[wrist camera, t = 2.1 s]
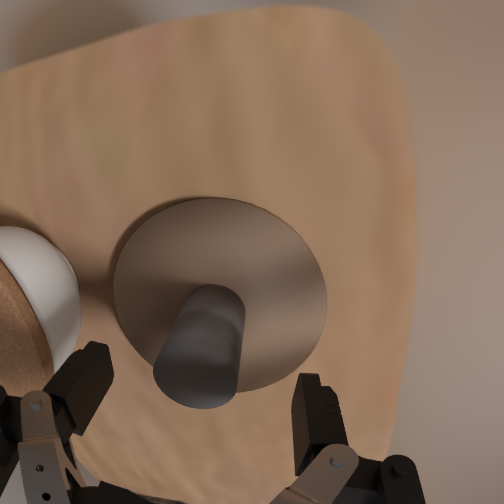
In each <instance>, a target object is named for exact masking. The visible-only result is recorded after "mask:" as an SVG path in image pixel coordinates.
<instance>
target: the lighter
mask: <svg viewBox="0 0 504 504" xmlns="http://www.w3.org/2000/svg"><path fill="white" fill-rule="evenodd" d="M140 497H142V498H144V499H146V500H148V501H150V502H152V503H155V504H187V503H184V502H180V501H174V500H168V499H162V498H154V497H144V496H140Z"/></svg>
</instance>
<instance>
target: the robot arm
mask: <svg viewBox="0 0 504 504" xmlns="http://www.w3.org/2000/svg"><path fill="white" fill-rule="evenodd" d="M113 378H114V371H113V366H112V361H111V357H110V352H109V347H108V345H106V344H103V343H99V342H95V341H90V342H89V343H88V344H87V345H86V346H85V348H84V349H83V350H81V349H79V350H77V351H76V352H74V353H72V354H71V355H70V356H69V357H68V358H67V359H66V360H65V362H64V364H62V365H61V367H60V368H59V369H58V370H57V372H56V373H55V374H54V375H53V377H52V378H51V379H50V380H49V382H48V383H47V384H46V385H45V387H44V388H43V389H42V390H34V391H30V392H28V393H26V394H25V395H24V396H23V397H17V396H10V395H8V394H7V392H6V390H5V388H4V387H3V386H1V385H0V497H1V495H2V493H3V491H4V488H5V487H6V484H7V482H8V480H9V478H10V476H11V474H12V472H13V471H14V469H15V467H16V465H17V463H18V461H20V468H21V474H22V480H23V486H24V491H25V496H26V500H27V504H155V503H152V502H150V501H148V500H146V499H144V498H142V497H140V496H138V495H136V494H135V493H133V492H131V491H129V490H127V489H124V488H121V487H118V486H115V485H112V484H109V483H106V482H103V481H100V484H99V486H98V487H96V486H95V487H94V486H88V487H87V486H86V484H85V482H84V480H83V478H82V476H81V473H80V470H79V467H78V463H77V460H76V456H75V453H74V449H73V445H72V441H71V439H70V437H71V435H72V433H75V434H77V435H80V436H82V435H83V434H84V432H85V430H86V428H87V426H88V424H89V423H90V421H91V419H92V417H93V416H94V414H95V412H96V410H97V409H98V407H99V405H100V403H101V402H102V400H103V398H104V396H105V395H106V393H107V391H108V389H109V388H110V386H111V384H112V382H113ZM291 414H292V429H293V445H294V462H295V476H299V477H298V478H297V479H296V480H295V481H294V483H293V484H292V485H291V486H290V487H288V488H285V489H284V490H282V491H281V492H280V493H279V494H278V495H277V496H276V497H275V498H274V499H273V500H272V501H271V502H270V503H269V504H426V503H425V499H424V495H423V491H422V487H421V483H420V480H419V476H418V473H417V470H416V466H415V464H414V462H413V461H412V460H411V459H410V458H408V457H406V456H403V455H392V456H389V457H387V458H386V459H385V460H384V461H383V462H382V461H376V460H370V459H365V458H362V457H360V456H358V455H357V453H356V452H355V451H354V450H353V449H352V448H350V447H349V444H348V441H347V436H346V432H345V427H344V423H343V419H342V415H341V410H340V407H339V402H338V397H337V395H336V393H335V392H334V391H333V390H332V388H331V387H330V386H321V383H320V378H319V374H314V373H300V374H299V376H298V380H297V384H296V388H295V391H294V395H293V399H292V407H291Z"/></svg>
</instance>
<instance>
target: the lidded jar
mask: <svg viewBox="0 0 504 504" xmlns="http://www.w3.org/2000/svg"><path fill="white" fill-rule="evenodd" d="M81 320H82V307H81V299H80V294H79V286H78V281H77V278H76V275H75V272H74V270H73V268H72V266H71V264H70V262H69V261H68V260H67V258H66V257H65V256H64V254H63V253H62V252H61V251H60V250H59V249H58V248H56V247H55V246H53V245H52V244H51V243H50V242H49V241H48V240H46V239H45V238H43V237H42V236H41V235H39V234H37V233H35V232H33V231H30V230H28V229H25V228H21V227H16V226H0V385H1V386H3V387H4V388H5V390H6V392H7V394H8V395H10V396H17V397H23V396H24V395H25V394H26V393H28V392H30V391H34V390H42V389H43V388H44V387H45V385H46V384H47V383H48V382H49V380H50V379H51V378H52V377H53V375H54V374H55V373H56V372H57V370H58V369H59V368H60V367H61V365H62V364H64V362H65V360H66V359H67V358H68V357H69V356H70V355H71V354H72V353H73V351H74V349H75V347H76V344H77V342H78V338H79V333H80V329H81Z"/></svg>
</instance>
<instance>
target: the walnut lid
mask: <svg viewBox="0 0 504 504" xmlns="http://www.w3.org/2000/svg"><path fill="white" fill-rule="evenodd" d="M113 296H114V304H115V309H116V313H117V316H118V319H119V322H120V325H121V327H122V329H123V331H124V333H125V335H126V337H127V338H128V340H129V341H130V343H131V344H132V346H133V347H134V348H135V349H136V351H137V352H138V353H139V354H140V355H141V356H142V357H143V358H144V359H145V360H146V361H147V362H148V363H149V364H150V365H151V366H153V375H154V379H155V381H156V383H157V385H158V387H159V388H160V389H161V390H162V392H163V393H164V394H165V395H167V396H168V397H169V398H171V399H172V400H174V401H175V402H177V403H179V404H182V405H184V406H187V407H191V408H197V409H211V408H216V407H219V406H222V405H224V404H226V403H227V402H229V401H230V400H231V399H232V398H233V396H234V395H235V393H238V392H246V391H252V390H256V389H259V388H263V387H266V386H268V385H271V384H273V383H275V382H277V381H279V380H281V379H283V378H285V377H286V376H288V375H289V374H290V373H292V372H293V371H295V370H296V369H297V368H298V367H299V366H300V365H301V364H302V363H303V362H304V361H305V360H306V359H307V358H308V356H309V355H310V354H311V353H312V351H313V349H314V348H315V346H316V345H317V343H318V341H319V339H320V336H321V334H322V332H323V328H324V324H325V321H326V314H327V292H326V286H325V281H324V278H323V275H322V272H321V269H320V267H319V265H318V262H317V261H316V259H315V257H314V255H313V253H312V251H311V249H310V248H309V247H308V245H307V244H306V243H305V241H304V240H303V239H302V237H301V236H300V235H299V234H298V233H297V232H296V231H295V230H294V229H293V228H292V227H291V226H290V225H288V224H287V223H286V222H284V221H283V220H282V219H280V218H279V217H277V216H276V215H274V214H272V213H270V212H269V211H267V210H265V209H263V208H260V207H258V206H255V205H253V204H250V203H247V202H243V201H239V200H235V199H227V198H200V199H194V200H188V201H185V202H182V203H178V204H175V205H173V206H171V207H169V208H167V209H165V210H163V211H161V212H159V213H157V214H156V215H154V216H153V217H151V218H150V219H148V220H147V221H145V222H144V223H143V224H142V225H141V226H140V227H139V228H138V229H137V230H136V231H135V232H134V233H133V235H132V236H131V237H130V238H129V240H128V241H127V243H126V244H125V246H124V248H123V250H122V252H121V254H120V256H119V259H118V262H117V264H116V269H115V274H114V281H113Z"/></svg>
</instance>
